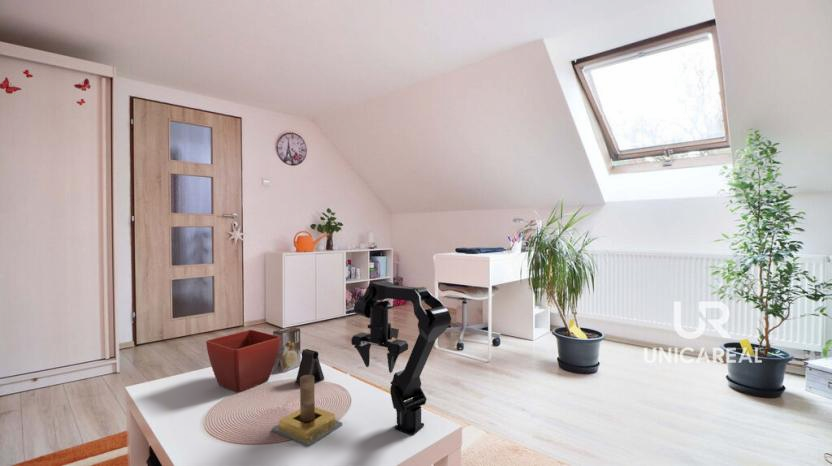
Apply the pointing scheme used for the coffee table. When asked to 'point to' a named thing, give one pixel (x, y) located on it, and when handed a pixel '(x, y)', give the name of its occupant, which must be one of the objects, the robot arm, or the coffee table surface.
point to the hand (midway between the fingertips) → (379, 369)
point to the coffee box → (288, 349)
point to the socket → (307, 427)
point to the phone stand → (310, 366)
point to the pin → (307, 399)
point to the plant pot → (243, 358)
